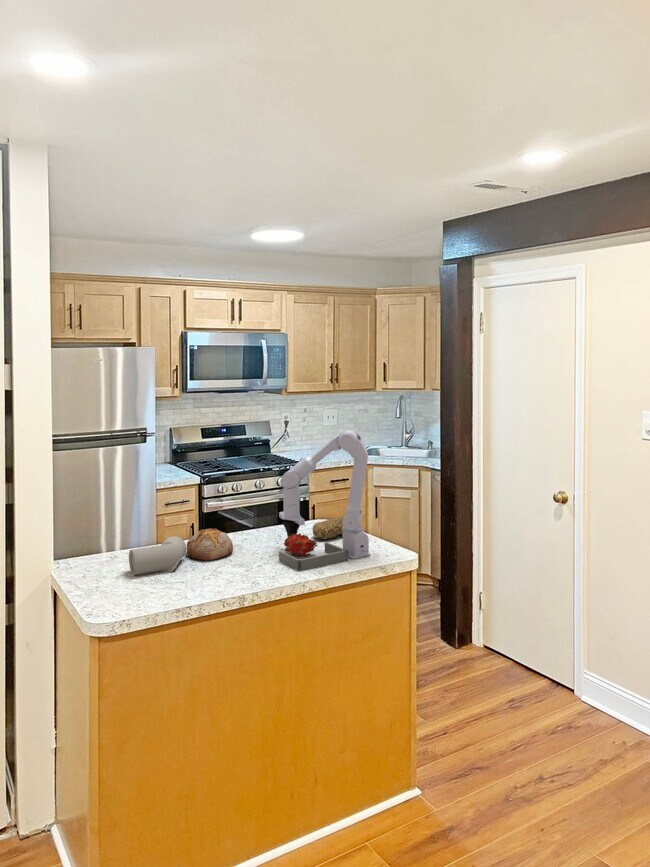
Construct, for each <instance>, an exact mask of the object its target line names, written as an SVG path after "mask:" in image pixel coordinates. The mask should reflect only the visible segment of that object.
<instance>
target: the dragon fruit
mask: <svg viewBox="0 0 650 867" xmlns="http://www.w3.org/2000/svg"><path fill="white" fill-rule="evenodd" d="M283 545H284V547H285V549H284V552H285V551H286V552H287V553H290V552H291V555H293V556H294V557H297V556H303V557H308V556H311V552H314V551H315V548H316V547H318V544H317V542H316V541H315V540H313V539H309V536H307V535H305V534H304V533H303V534H302V533H297V534H291V536H287V538H285V539H284V542H283Z"/></svg>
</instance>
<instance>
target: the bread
mask: <svg viewBox="0 0 650 867" xmlns="http://www.w3.org/2000/svg"><path fill="white" fill-rule="evenodd" d="M233 551H234V545H233V542H232V539H231V538H230V536H229V535H228V534H227V533H226V532H223V531H221V530H218V529H217V528H206V529H200V530H199V531H198V532H197V533H195V534H194V535H192V536H191V537H190V538H189V539H188V540H187V543H186V554H187V556H188V557H190V558H191V559H193V560H197V561H204V562H209V561H214V560H217V559H218V560H219V559H221V558H225V557H227V556H228V557H229V556H230V555H232V553H233Z"/></svg>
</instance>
